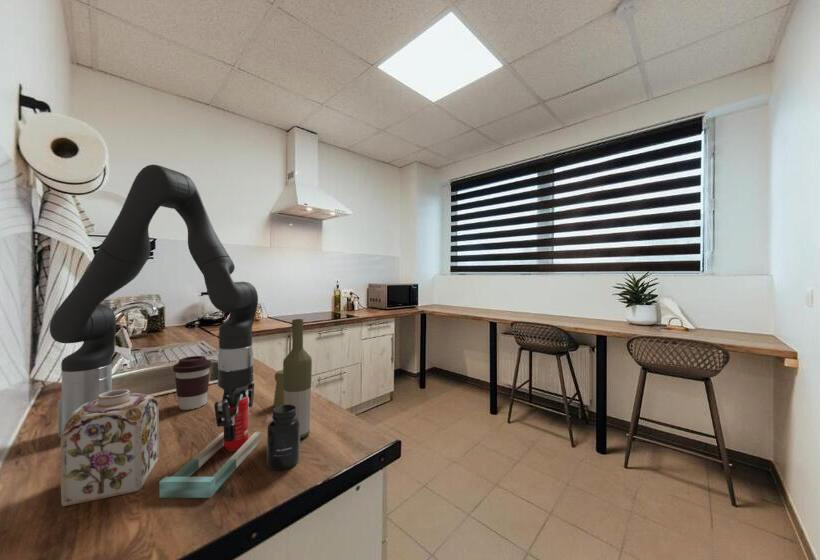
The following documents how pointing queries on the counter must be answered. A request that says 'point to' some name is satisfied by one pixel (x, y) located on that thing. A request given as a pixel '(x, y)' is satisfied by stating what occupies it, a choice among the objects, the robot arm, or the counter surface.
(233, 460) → the beam
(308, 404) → the bottle
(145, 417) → the decorative jar
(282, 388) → the cork
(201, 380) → the coffee cup
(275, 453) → the supplement bottle
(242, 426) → the beverage can
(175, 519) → the counter surface
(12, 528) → the counter surface
